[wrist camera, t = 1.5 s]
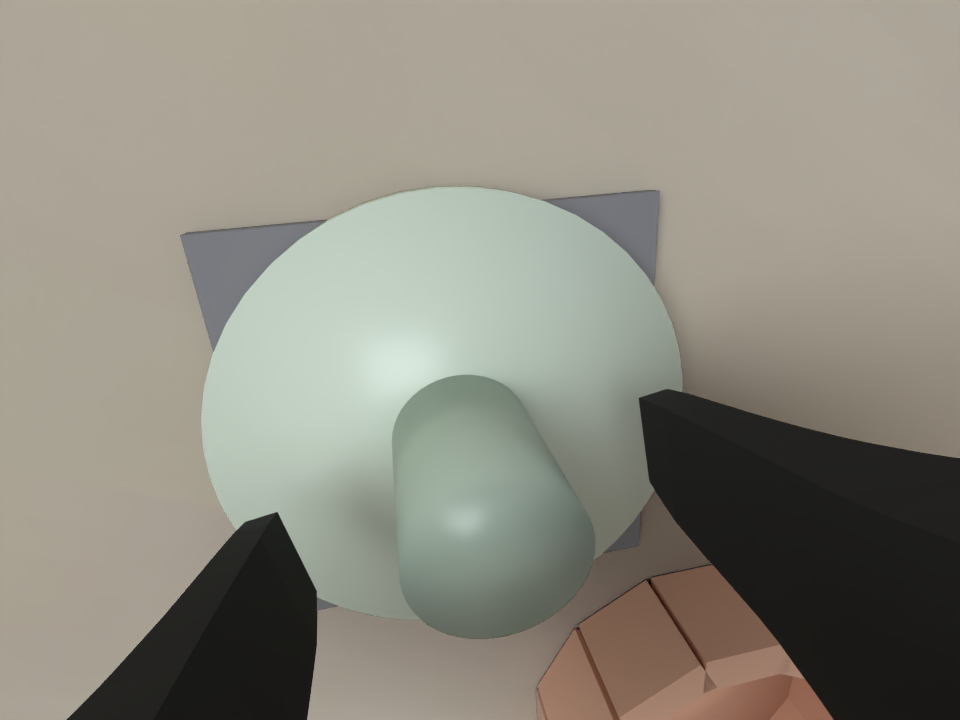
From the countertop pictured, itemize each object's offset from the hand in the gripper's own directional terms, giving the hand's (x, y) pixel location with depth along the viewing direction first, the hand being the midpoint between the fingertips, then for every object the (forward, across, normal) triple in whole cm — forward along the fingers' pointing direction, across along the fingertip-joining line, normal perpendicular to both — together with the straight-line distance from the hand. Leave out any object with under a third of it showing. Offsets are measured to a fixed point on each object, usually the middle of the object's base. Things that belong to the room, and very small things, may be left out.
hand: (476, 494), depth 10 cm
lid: (+3, 0, 0) cm, 3 cm away
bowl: (+3, -5, +13) cm, 14 cm away
